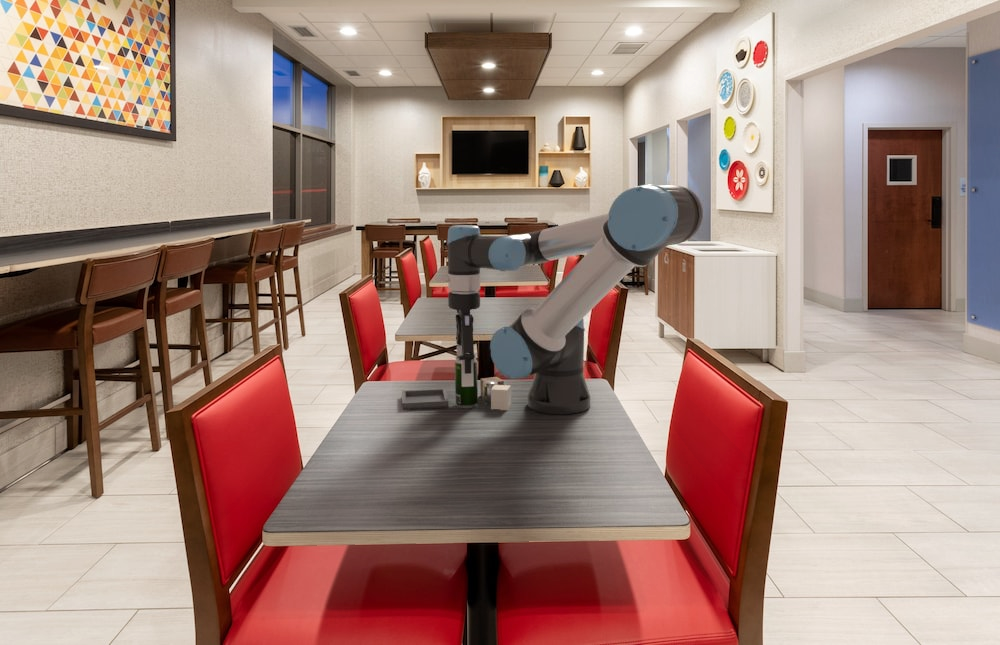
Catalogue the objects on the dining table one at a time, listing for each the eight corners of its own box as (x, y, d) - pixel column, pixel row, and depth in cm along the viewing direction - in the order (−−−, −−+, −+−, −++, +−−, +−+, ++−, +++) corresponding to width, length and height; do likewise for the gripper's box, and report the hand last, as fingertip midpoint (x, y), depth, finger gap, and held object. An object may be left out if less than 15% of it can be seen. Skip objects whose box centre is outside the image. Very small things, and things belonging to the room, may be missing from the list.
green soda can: (465, 410, 168) (464, 361, 166) (451, 405, 172) (449, 357, 169) (482, 405, 172) (481, 357, 169) (467, 400, 175) (466, 353, 173)
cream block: (510, 405, 171) (510, 385, 170) (507, 410, 167) (507, 390, 167) (494, 404, 172) (494, 384, 171) (491, 409, 168) (490, 389, 167)
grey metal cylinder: (496, 399, 176) (496, 380, 175) (498, 404, 172) (498, 384, 171) (482, 400, 175) (482, 381, 174) (484, 404, 172) (483, 384, 171)
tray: (445, 394, 181) (445, 388, 180) (448, 407, 170) (448, 400, 170) (402, 396, 179) (402, 390, 179) (402, 409, 169) (402, 403, 168)
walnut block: (496, 393, 181) (496, 376, 180) (503, 398, 177) (503, 381, 176) (480, 395, 180) (480, 378, 179) (487, 400, 176) (487, 383, 175)
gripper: (444, 284, 178) (446, 365, 182) (452, 300, 154) (453, 393, 158) (474, 283, 179) (475, 364, 183) (486, 299, 155) (486, 392, 159)
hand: (465, 378), depth 171 cm, fingers open, 13 cm apart
